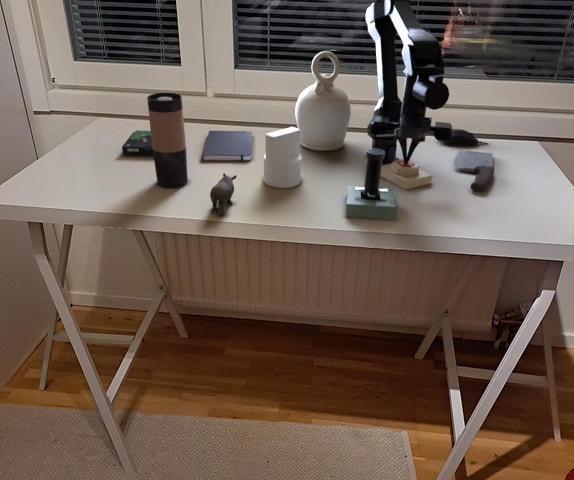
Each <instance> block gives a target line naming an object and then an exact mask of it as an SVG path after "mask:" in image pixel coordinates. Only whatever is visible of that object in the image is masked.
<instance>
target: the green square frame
mask: <svg viewBox="0 0 574 480" xmlns="http://www.w3.org/2000/svg"><path fill="white" fill-rule="evenodd" d="M355 187H362V188H364V186H359V185H358V186H357V185H347V188H346V202H345V203H346V206H345V208H346V209H345V217H347V218H361V219H362V218H363V219H375V220H391V221H394V220H395V213H396V200H395V193H394V188H392V187H379V189H388V193H384V192H379V193H378V200H365V199H363V194H364V191H355Z"/></svg>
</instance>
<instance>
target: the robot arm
mask: <svg viewBox="0 0 574 480" xmlns="http://www.w3.org/2000/svg"><path fill="white" fill-rule="evenodd" d="M365 22H366V23H367V30H368V34H369V36H370V37H371V38H372V39H373V41H374V42H375V54H376V68H377V71H376V73H377V86H378V102H377V104H376V105H375V108H374V109H373V117H372V119H371V120H370V122H369V123H368V124H367V127H366V128H367V130H366V131H367V133H366V135H367V136H368V137H369V138H371V139H372V141H371V142H372V143H371V149H373V148H375V149H381V150H383V151H385V155H384V159H382V165H385V164H389V163H392V162H393V161H394V160H399V159H400V158H399V157H397V156H396V155H397V150H398V145H397V144H398V143H399V146H400V149H401V154H402V159H403V160H404V164H408V162H409V160H411V158H412V156H413V153H414V152H415V150H416V148H418V146H419V144H420V143H425V142H426V136H427V135H433V137H434V138H435V140H436V141H438V140H442V141H450V140H451V135H452V129H453V125H452V124H451V122H446V121H445V122H443V121H435V123H434V125H432V120H433V117H430V116H426V113H427V108H428V109H430V110H432V111H433V110H434V111H435V110H439V109H441V108H444V106H445V105H446V104H447V103H448V101H449V98H450V89H449V87H448V86H447V84H446V83H444V75H445V68H446V64H445V60H444V57H443V56H444V55H443V51H442V47H441V44H440V42H439V40H438V39H437V38H436V36H434V35H433V33H430V32H428V31H426V30H424V29H423V27H422V25H421V23H420V22H419V20H418V18H417V16H416V14H415V12H414V11H413V9H412V7H411V2H410V0H381V1H378V2H372V3H371V4H370V6H369V7H367V9H366V12H365ZM397 34H398V36H399V37H400V39H401V41H402V44H403V47H402V51H401V55H402V60H403V63H404V66H405V68H404V70H403V74H405V77H404V85H403V93H402V100H401V99H400V97H399V92H398V74H397V73H398V72H397V57H396V55H397V54H396V36H397ZM408 139H410V144H409V147H408Z"/></svg>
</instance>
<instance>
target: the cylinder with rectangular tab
mask: <svg viewBox="0 0 574 480" xmlns="http://www.w3.org/2000/svg"><path fill="white" fill-rule="evenodd" d="M300 149H301V143H300V129H298V127H295V126H290V127H286V128H282V129H280V130H275V131H271V132H267V133H265V153H264V155H263V182H264V184H265V185H267V186H269V187H274V188H281V189H286V188H293V187H297V186H298V185H300V183H301V181H302V159H303V157H302V155H301V154H300V152H301V150H300Z"/></svg>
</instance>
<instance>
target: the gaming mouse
mask: <svg viewBox="0 0 574 480" xmlns="http://www.w3.org/2000/svg"><path fill="white" fill-rule="evenodd" d="M437 142H439V143H440V144H443V145H446V146H451V147H473V146H477V145H478V144H481V145H482V144H483V145H488V142H484V141H480V140H478V138H476V136H474V134H473V132H470V131H467V130H465V129H462V128H452V135H451V140H450V141H442V140H437Z"/></svg>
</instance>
